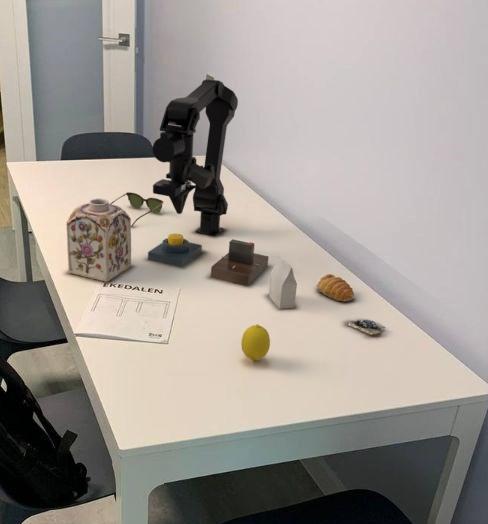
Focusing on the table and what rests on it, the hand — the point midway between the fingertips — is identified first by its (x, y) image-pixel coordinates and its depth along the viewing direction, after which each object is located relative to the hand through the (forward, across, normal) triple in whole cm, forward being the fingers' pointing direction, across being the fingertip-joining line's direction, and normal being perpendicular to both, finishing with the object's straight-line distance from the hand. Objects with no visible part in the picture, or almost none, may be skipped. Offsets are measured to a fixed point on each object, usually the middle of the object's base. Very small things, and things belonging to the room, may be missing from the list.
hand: (179, 213), depth 174 cm
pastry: (+12, -1, -43) cm, 45 cm away
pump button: (+8, -1, +1) cm, 8 cm away
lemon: (+12, -40, -38) cm, 56 cm away
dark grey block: (+9, -2, -18) cm, 20 cm away
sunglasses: (+12, +20, +27) cm, 36 cm away
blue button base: (+12, -1, +1) cm, 12 cm away
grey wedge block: (+12, -12, -34) cm, 38 cm away
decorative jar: (+12, -19, +12) cm, 25 cm away
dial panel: (+12, -2, -18) cm, 22 cm away
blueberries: (+8, -16, -51) cm, 55 cm away
